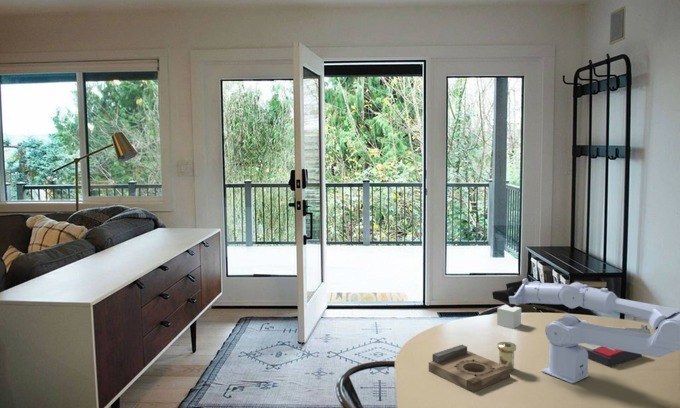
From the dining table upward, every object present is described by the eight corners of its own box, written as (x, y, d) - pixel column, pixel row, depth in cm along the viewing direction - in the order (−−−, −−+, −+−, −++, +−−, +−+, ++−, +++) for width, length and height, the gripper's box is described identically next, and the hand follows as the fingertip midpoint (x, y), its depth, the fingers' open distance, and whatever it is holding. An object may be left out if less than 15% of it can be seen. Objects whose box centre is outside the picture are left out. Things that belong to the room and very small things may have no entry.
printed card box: (576, 343, 159) (608, 332, 166) (576, 357, 160) (608, 345, 167) (609, 356, 150) (642, 343, 157) (609, 370, 150) (642, 357, 157)
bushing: (519, 369, 150) (519, 345, 149) (507, 374, 147) (508, 349, 146) (504, 363, 154) (505, 340, 153) (493, 368, 151) (493, 344, 150)
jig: (510, 377, 145) (510, 361, 144) (472, 392, 136) (472, 375, 136) (465, 358, 158) (465, 343, 157) (428, 370, 149) (428, 355, 149)
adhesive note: (513, 328, 182) (513, 311, 182) (497, 325, 186) (497, 308, 186) (520, 324, 187) (521, 307, 186) (504, 320, 191) (505, 304, 190)
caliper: (650, 345, 166) (651, 326, 166) (648, 346, 166) (650, 326, 165) (588, 327, 183) (588, 309, 182) (586, 328, 182) (587, 310, 182)
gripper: (552, 271, 154) (510, 271, 164) (526, 287, 144) (484, 285, 155) (556, 295, 154) (514, 293, 165) (531, 312, 145) (488, 309, 155)
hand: (500, 291), depth 160 cm, fingers open, 7 cm apart
